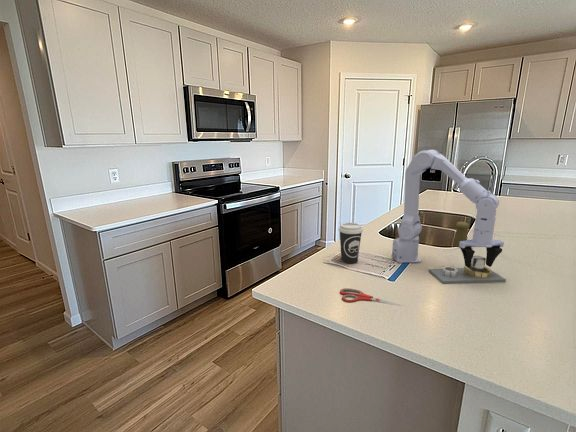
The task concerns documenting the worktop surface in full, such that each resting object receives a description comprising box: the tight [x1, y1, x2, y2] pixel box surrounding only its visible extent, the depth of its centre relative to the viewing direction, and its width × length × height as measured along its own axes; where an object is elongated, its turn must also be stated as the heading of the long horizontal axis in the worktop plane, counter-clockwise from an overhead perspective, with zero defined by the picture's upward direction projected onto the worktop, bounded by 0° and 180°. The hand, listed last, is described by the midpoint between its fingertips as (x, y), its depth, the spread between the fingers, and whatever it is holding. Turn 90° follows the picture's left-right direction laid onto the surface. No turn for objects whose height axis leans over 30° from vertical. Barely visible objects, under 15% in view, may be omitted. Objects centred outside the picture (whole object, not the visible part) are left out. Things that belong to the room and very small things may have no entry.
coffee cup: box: [338, 222, 364, 265], centre depth 124 cm, size 10×10×15 cm
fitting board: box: [428, 267, 507, 285], centre depth 111 cm, size 22×10×1 cm, turn 92°
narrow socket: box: [441, 265, 458, 278], centre depth 110 cm, size 5×5×2 cm
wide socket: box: [463, 265, 492, 279], centre depth 110 cm, size 8×8×2 cm
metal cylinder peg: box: [471, 255, 486, 272], centre depth 110 cm, size 4×4×6 cm
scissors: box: [339, 287, 407, 308], centre depth 97 cm, size 8×21×2 cm, turn 78°
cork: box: [452, 221, 470, 248], centre depth 140 cm, size 6×6×11 cm
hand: (478, 266), depth 110 cm, fingers open, 7 cm apart
